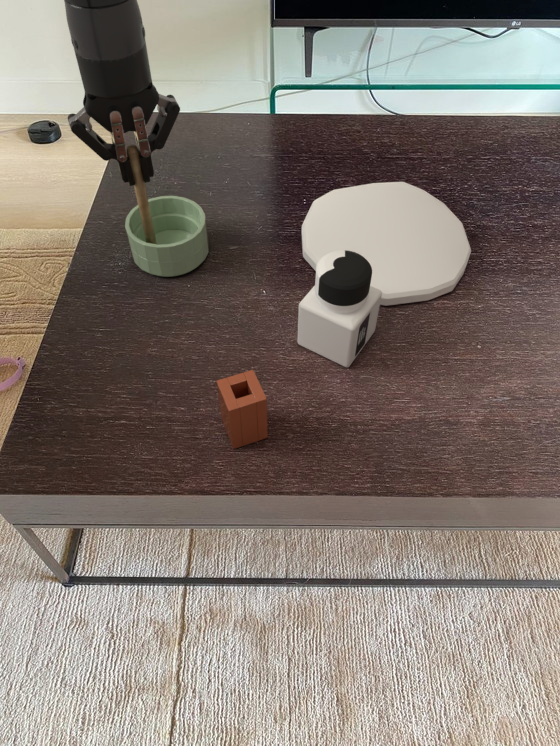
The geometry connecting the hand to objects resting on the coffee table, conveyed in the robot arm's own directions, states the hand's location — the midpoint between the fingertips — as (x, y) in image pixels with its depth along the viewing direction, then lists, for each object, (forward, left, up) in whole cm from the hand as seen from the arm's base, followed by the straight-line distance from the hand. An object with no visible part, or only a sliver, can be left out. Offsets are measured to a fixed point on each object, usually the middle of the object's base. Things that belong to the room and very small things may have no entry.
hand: (138, 180), depth 79 cm
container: (+19, -22, -15) cm, 33 cm away
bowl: (+3, +2, -14) cm, 15 cm away
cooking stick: (0, 0, -12) cm, 12 cm away
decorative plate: (+33, -8, -15) cm, 37 cm away
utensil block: (+3, -31, -14) cm, 35 cm away
